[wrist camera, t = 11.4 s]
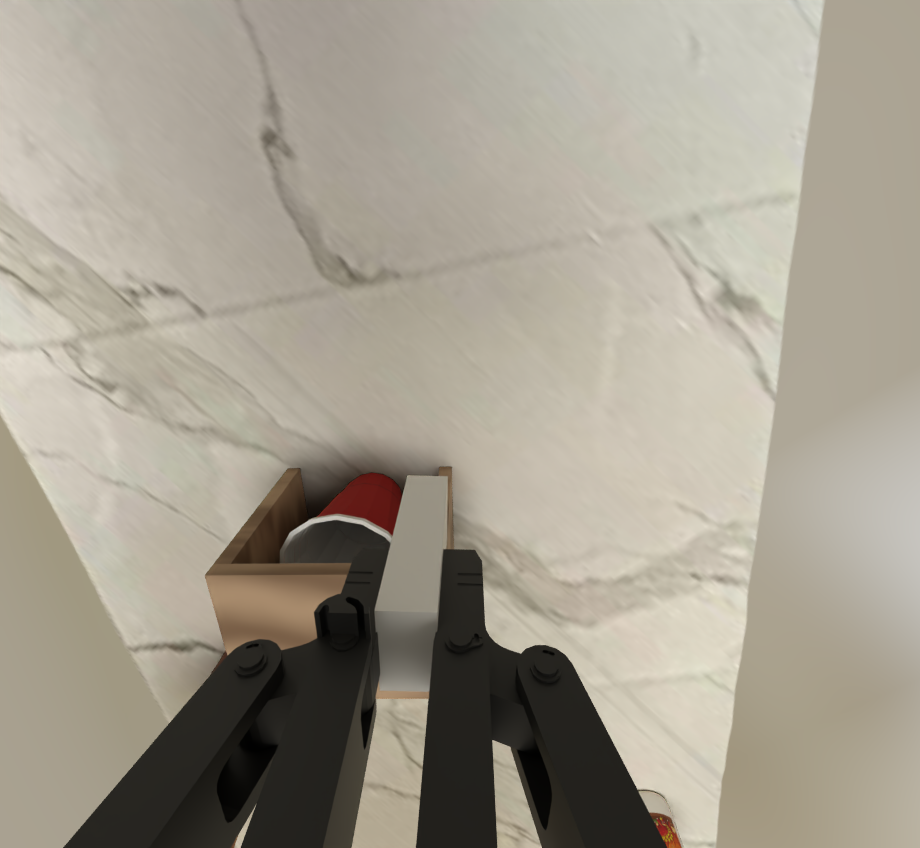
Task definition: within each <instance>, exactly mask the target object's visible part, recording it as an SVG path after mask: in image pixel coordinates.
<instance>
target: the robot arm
mask: <svg viewBox="0 0 920 848" xmlns="http://www.w3.org/2000/svg"><path fill="white" fill-rule="evenodd" d="M447 500H448V476H417V475H407V479H406V483H405V487H404V491H403V495H402V500H401V504H400V508H399V512H398V516H397V520H396V524H395V528H394V532H393V536H392V541H391V545H390V549H376V548H363V549H362V550H361V551H360V552H359V553H358V554H357V555H356V556H355V557H354V558H353V560H352V563H351V566H350V569H349V573H348V575H347V577H346V580H345V584H344V586H343V589H342V592H341V594H336V595H334V596H331V597H329V598H327V599H326V600H324V601H323V602H322V603H320V604H319V605H318V607H317V608H316V610H315V611H314V618H315V625H316V632H317V638H316V639H314V640H313V641H311V642H309V643H306V644H303V645H300V646H296V647H292V648H288V649H284V650H281V649H280V648H279V646H278V644H277V643H275V642H273V641H271V640H266V639H257V640H253V641H249V642H246V643H244V644H242V645H240V646H239V647H237V648H235V649H234V650H233V651H232V652H231V653H230V654H229V655H228V656H227V657H226V658H225V659H224V660H223V661H222V662H221V664H220V665H219V666H218V667H217V668H216V669H215V671H214V672H213V673H212V674H211V675H210V676H209V678H208V679H207V680H206V681H205V682H204V683H203V685H202V686H201V687H200V688H199V689H198V690H197V692H196V693H195V694H194V695H193V696H192V698H191V699H190V700H189V701H188V702H187V703H186V705H185V706H184V707H183V708H182V709H181V710H180V712H179V713H178V714H177V715H176V716H175V717H174V719H173V720H172V721H171V722H170V723H169V724H168V726H167V727H166V728H165V729H164V730H163V732H162V733H161V734H160V735H159V736H158V737H157V739H156V740H155V741H154V742H153V744H152V745H151V746H150V747H149V748H148V749H147V750H146V751H145V753H144V754H143V755H142V756H141V758H139V760H138V761H137V762H136V763H135V764H134V765H133V767H132V768H131V769H130V770H129V771H128V773H127V774H126V775H125V776H124V777H123V778H122V780H121V781H120V782H119V783H118V784H117V785H116V787H115V788H114V789H113V790H112V791H111V792H110V794H109V795H108V796H107V797H106V798H105V799H104V801H103V802H102V803H101V804H100V805H99V806H98V808H97V809H96V810H95V811H94V812H93V814H92V815H91V816H90V817H89V818H88V819H87V820H86V822H85V823H84V824H83V825H82V826H81V828H80V829H79V830H78V831H77V832H76V833H75V835H74V836H73V837H72V838H71V840H69V842H68V843H67V844H66V845H65V846H64V847H63V848H231V846H232V845H233V843H234V841H235V840H236V838H237V836H238V834H239V833H240V831H241V829H242V828H243V826H244V824H245V822H246V821H247V819H248V817H249V815H250V814H251V812H252V810H253V809H254V807H255V805H256V807H255V810H254V813H253V815H252V818H251V821H250V824H249V826H248V829H247V832H246V835H245V837H244V840H243V843H242V845H241V848H351V847H352V841H353V836H354V830H355V825H356V820H357V814H358V809H359V803H360V798H361V793H362V787H363V782H364V776H365V771H366V766H367V760H368V755H369V749H370V744H371V739H372V733H373V728H374V722H375V717H376V693H377V688H378V683H379V686H380V691H416V692H429V701H428V713H427V725H426V737H425V748H424V760H423V772H422V784H421V796H420V808H419V820H418V832H417V843H416V848H497V832H496V811H495V790H494V769H493V748H492V740H495V741H497V742H500V743H502V744H505V745H507V746H510V747H511V751H512V754H513V757H514V760H515V763H516V767H517V770H518V773H519V776H520V779H521V782H522V786H523V789H524V792H525V795H526V798H527V801H528V805H529V808H530V811H531V814H532V817H533V820H534V824H535V827H536V830H537V833H538V836H539V840H540V843H541V846H542V848H667V846H666V844H665V842H664V840H663V838H662V836H661V834H660V832H659V830H658V828H657V827H656V825H655V823H654V821H653V819H652V817H651V815H650V813H649V811H648V809H647V807H646V805H645V803H644V801H643V800H642V798H641V796H640V794H639V792H638V790H637V788H636V786H635V784H634V782H633V780H632V778H631V776H630V774H629V773H628V771H627V769H626V767H625V765H624V763H623V761H622V759H621V757H620V755H619V753H618V751H617V749H616V747H615V746H614V744H613V742H612V740H611V738H610V736H609V734H608V732H607V730H606V728H605V726H604V724H603V722H602V720H601V719H600V717H599V715H598V713H597V711H596V709H595V707H594V705H593V703H592V701H591V699H590V697H589V695H588V693H587V692H586V690H585V688H584V686H583V684H582V682H581V680H580V678H579V676H578V674H577V672H576V670H575V668H574V666H573V665H572V663H571V662H570V660H569V659H568V658H567V656H566V655H565V654H563V653H562V652H560V651H559V650H557V649H556V648H552V647H549V646H546V645H535V646H532V647H530V648H527V649H525V650H524V651H523V652H522V653H521V654H520V653H517V652H514V651H511V650H508V649H506V648H503V647H501V646H500V645H498V644H497V643H495V642H494V641H493V640H492V639H491V637H490V636H489V634H488V633H487V631H486V627H485V616H484V595H483V576H482V574H483V573H482V560H481V559H480V557H479V556H478V554H477V553H476V551H475V550H457V549H446V546H447ZM256 803H257V804H256Z"/></svg>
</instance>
